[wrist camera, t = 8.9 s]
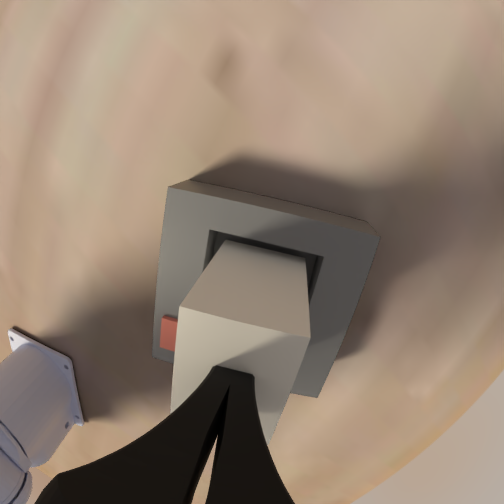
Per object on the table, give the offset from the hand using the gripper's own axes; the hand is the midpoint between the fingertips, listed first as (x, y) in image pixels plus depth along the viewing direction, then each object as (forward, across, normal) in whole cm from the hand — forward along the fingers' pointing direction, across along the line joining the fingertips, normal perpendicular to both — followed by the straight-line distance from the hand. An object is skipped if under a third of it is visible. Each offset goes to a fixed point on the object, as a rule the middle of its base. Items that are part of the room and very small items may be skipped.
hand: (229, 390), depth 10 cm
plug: (+8, 0, 0) cm, 8 cm away
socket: (+9, 0, 0) cm, 9 cm away
